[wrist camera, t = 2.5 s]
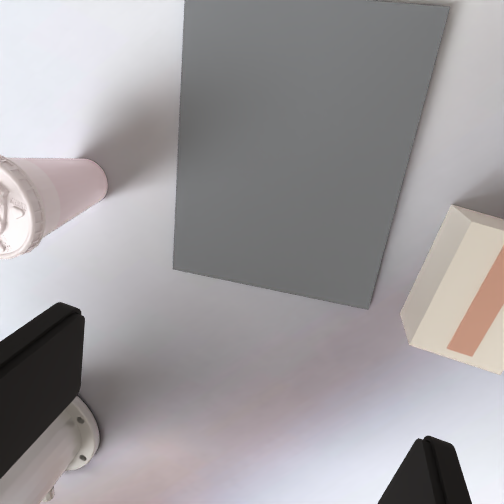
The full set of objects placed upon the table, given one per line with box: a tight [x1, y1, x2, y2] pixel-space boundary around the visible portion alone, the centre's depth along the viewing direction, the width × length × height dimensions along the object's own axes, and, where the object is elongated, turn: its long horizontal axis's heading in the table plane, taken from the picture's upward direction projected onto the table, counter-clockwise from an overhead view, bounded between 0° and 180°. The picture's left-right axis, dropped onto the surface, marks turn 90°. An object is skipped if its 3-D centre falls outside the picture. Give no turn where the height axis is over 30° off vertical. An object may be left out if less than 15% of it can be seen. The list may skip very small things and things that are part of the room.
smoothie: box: [0, 155, 108, 259], centre depth 25 cm, size 6×6×14 cm
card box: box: [400, 204, 504, 375], centre depth 25 cm, size 9×6×5 cm, turn 166°
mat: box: [173, 0, 450, 310], centre depth 27 cm, size 20×16×1 cm
